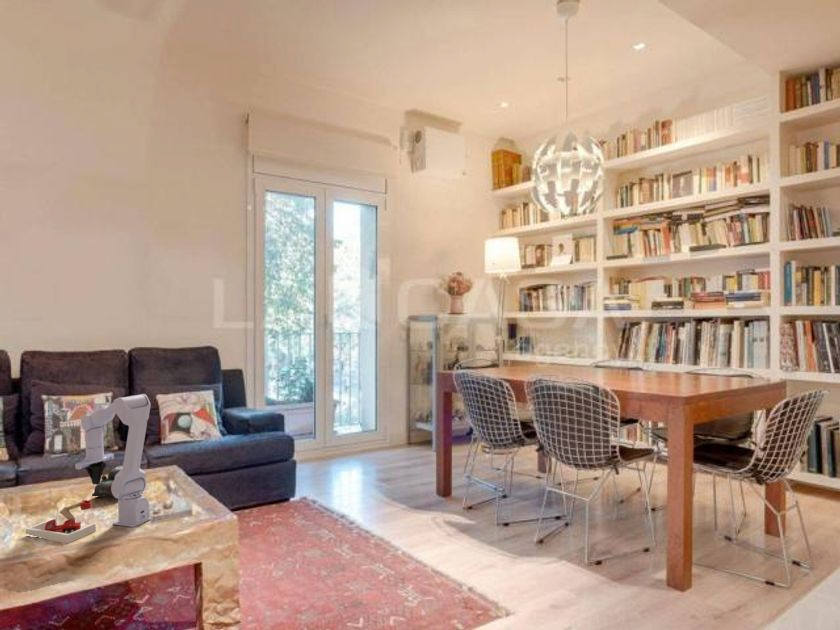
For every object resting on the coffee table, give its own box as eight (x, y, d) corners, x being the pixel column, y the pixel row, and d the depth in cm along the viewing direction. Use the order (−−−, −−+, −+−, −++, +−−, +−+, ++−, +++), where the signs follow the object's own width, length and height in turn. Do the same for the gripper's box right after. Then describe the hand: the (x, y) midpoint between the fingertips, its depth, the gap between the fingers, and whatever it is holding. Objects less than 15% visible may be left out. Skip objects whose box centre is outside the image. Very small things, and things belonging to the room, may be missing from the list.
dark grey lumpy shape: (88, 497, 231) (101, 461, 237) (120, 503, 237) (132, 468, 243) (95, 494, 219) (108, 457, 226) (128, 501, 225) (141, 465, 231)
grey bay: (95, 531, 195) (95, 523, 195) (68, 543, 185) (68, 535, 185) (54, 525, 201) (54, 518, 201) (26, 536, 192) (25, 528, 192)
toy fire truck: (46, 533, 194) (45, 504, 194) (93, 527, 199) (92, 498, 198) (43, 537, 191) (42, 508, 191) (91, 530, 195) (90, 501, 195)
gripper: (103, 441, 221) (104, 477, 221) (68, 450, 207) (70, 488, 208) (117, 442, 218) (119, 478, 219) (83, 452, 205) (84, 490, 205)
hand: (96, 483), depth 213 cm, fingers closed
